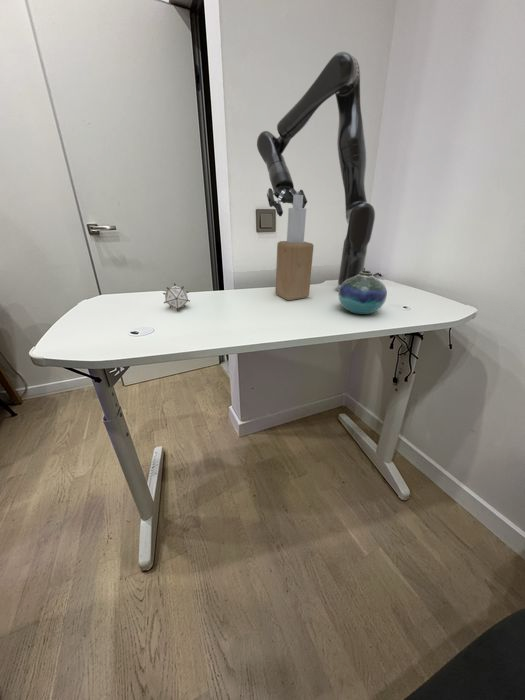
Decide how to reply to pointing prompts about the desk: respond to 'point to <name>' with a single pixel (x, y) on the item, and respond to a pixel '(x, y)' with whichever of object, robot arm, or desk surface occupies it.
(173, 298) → the grey spiked polyhedron
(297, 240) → the flask
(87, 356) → the desk surface
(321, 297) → the desk surface
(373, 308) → the vase
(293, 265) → the wooden block
